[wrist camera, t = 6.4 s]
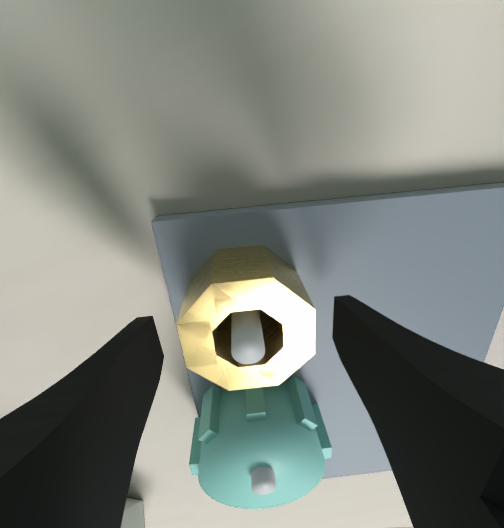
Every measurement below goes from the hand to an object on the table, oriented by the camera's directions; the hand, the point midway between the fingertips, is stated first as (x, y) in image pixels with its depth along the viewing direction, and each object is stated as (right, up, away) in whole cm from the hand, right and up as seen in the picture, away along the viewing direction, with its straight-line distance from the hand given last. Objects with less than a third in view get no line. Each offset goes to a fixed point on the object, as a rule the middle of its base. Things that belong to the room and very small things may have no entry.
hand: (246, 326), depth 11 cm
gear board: (+5, -4, +6) cm, 9 cm away
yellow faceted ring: (0, +1, +2) cm, 2 cm away
